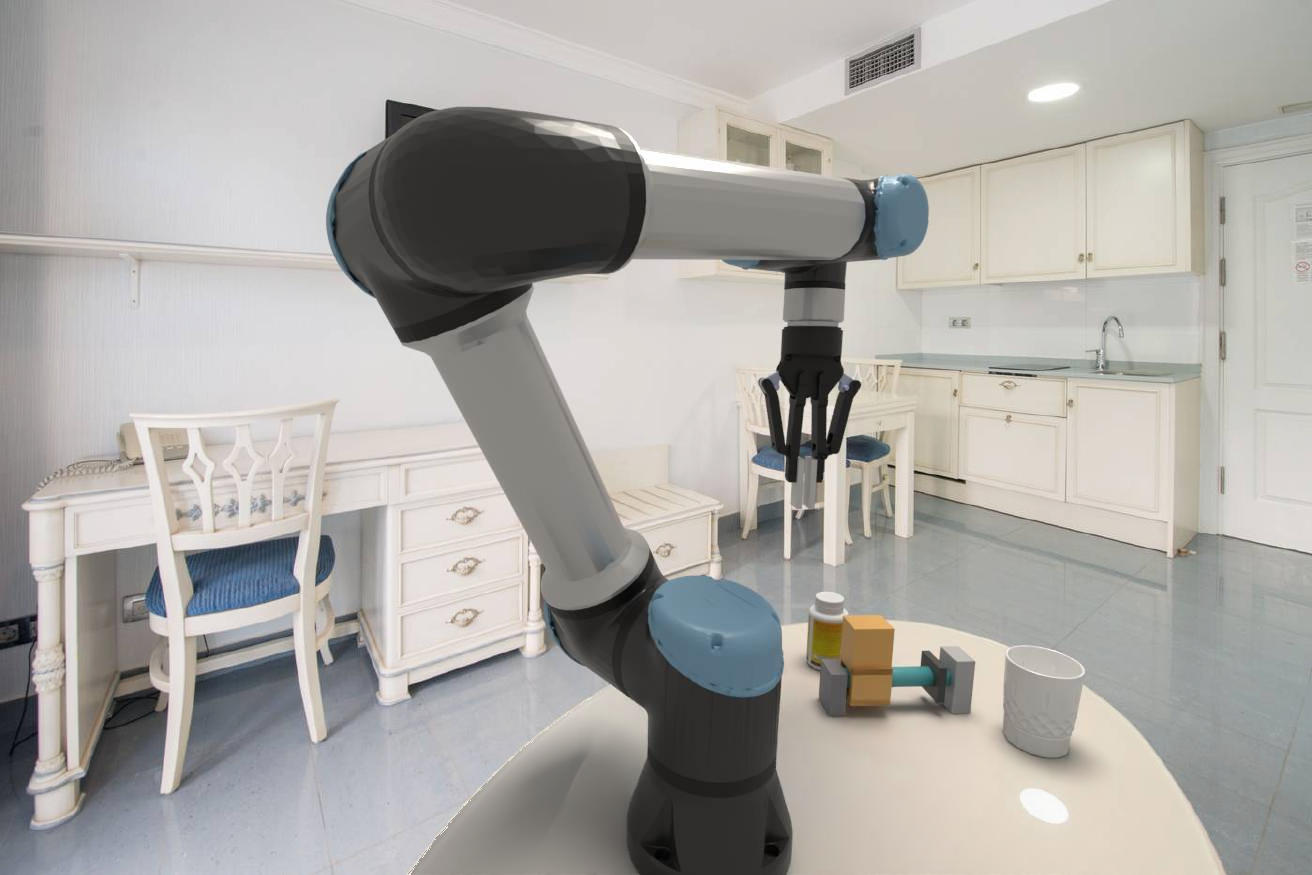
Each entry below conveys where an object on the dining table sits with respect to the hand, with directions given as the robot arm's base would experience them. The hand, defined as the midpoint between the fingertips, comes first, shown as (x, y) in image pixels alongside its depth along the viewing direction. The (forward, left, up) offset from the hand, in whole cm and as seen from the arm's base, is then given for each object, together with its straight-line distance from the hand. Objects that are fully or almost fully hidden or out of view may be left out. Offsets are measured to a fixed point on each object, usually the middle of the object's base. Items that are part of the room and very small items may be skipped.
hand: (802, 506), depth 84 cm
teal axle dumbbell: (+11, -7, -24) cm, 28 cm away
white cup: (+25, -15, -25) cm, 38 cm away
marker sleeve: (+7, -7, -23) cm, 25 cm away
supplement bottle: (+6, +4, -25) cm, 26 cm away
